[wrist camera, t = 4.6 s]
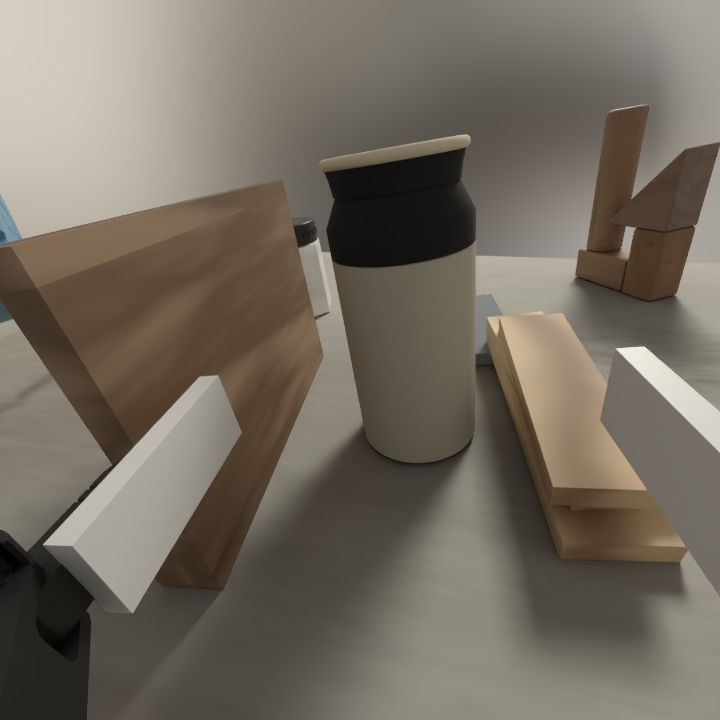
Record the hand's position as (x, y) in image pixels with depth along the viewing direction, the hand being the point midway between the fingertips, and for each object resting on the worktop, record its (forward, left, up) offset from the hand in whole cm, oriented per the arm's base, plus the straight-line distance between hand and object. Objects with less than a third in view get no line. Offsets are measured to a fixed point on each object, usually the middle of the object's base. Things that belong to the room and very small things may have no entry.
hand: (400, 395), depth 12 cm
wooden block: (+24, +35, -11) cm, 43 cm away
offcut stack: (+9, +11, -10) cm, 17 cm away
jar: (-16, +37, -11) cm, 41 cm away
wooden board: (-11, +11, -10) cm, 18 cm away
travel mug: (0, +11, -11) cm, 15 cm away
